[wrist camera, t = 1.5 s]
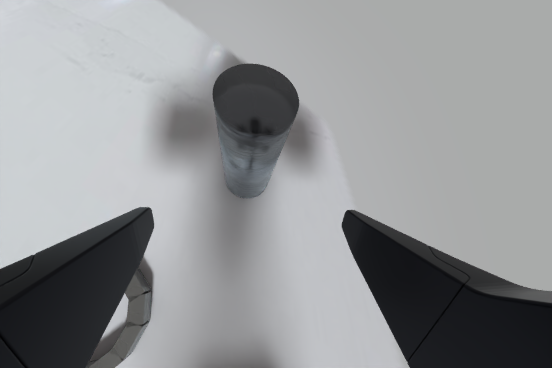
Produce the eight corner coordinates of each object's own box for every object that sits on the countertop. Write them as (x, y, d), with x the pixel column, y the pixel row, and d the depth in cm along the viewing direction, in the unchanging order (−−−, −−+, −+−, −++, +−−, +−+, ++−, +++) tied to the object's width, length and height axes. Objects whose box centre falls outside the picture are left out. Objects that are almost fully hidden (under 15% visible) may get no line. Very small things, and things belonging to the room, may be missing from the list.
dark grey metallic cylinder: (276, 183, 24) (315, 109, 12) (241, 206, 22) (247, 147, 10) (251, 152, 25) (265, 54, 13) (216, 172, 23) (194, 81, 11)
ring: (170, 322, 18) (164, 327, 16) (53, 415, 14) (35, 431, 13) (122, 239, 19) (113, 238, 18) (6, 308, 16) (-14, 313, 15)
